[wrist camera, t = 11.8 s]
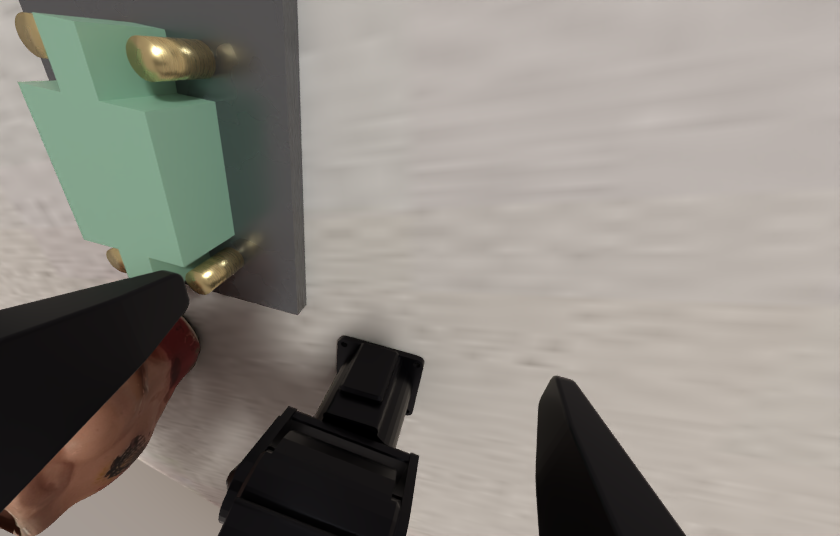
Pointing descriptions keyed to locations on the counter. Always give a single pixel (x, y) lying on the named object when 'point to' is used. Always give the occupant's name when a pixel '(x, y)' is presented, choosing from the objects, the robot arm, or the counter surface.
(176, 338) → the sculpted terracotta mug
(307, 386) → the counter surface
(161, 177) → the mint green pegged block
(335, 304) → the counter surface
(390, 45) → the counter surface
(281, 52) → the plate
